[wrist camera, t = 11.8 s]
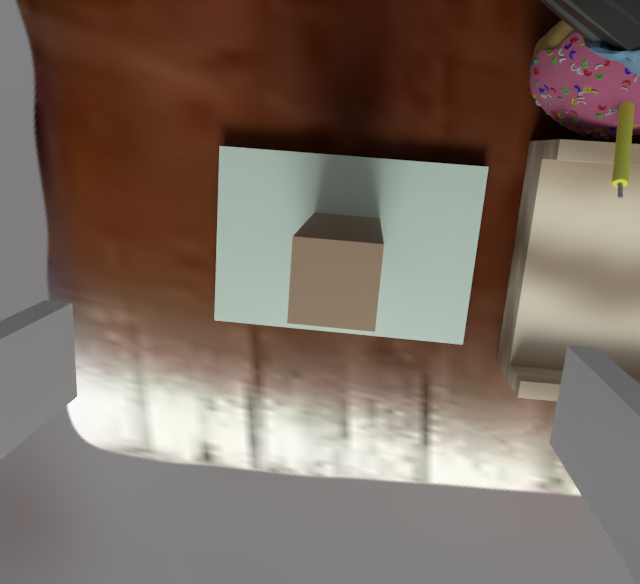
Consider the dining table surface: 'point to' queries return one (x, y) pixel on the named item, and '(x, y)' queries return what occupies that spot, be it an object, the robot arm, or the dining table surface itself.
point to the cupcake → (587, 93)
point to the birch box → (572, 266)
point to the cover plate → (355, 188)
